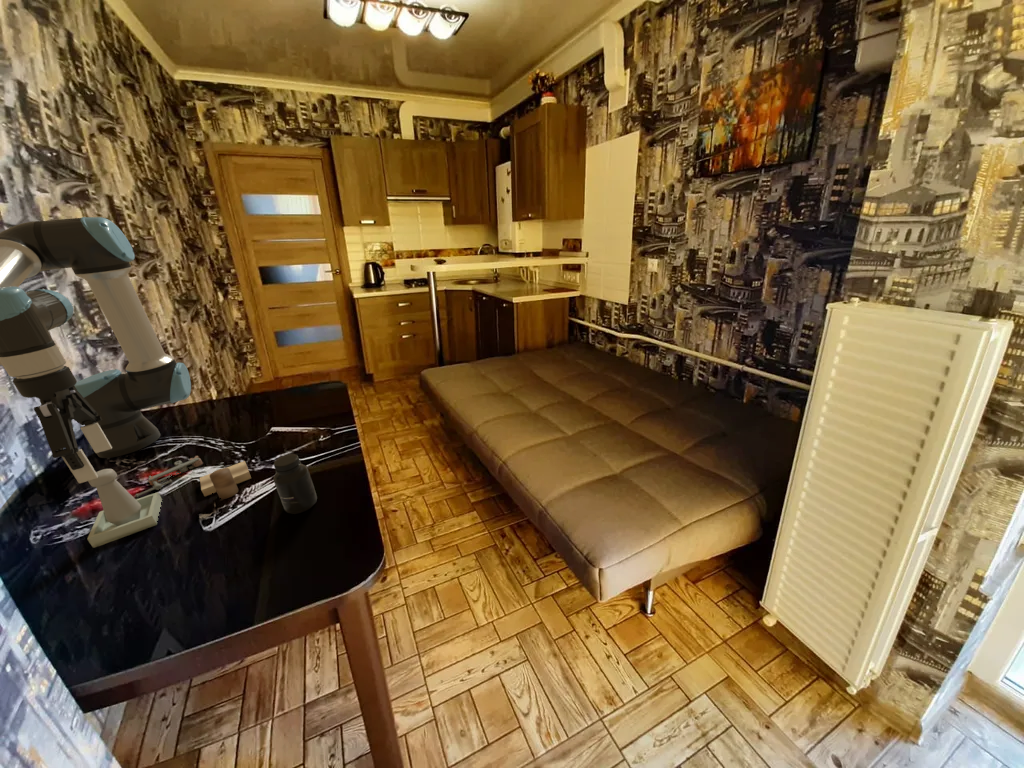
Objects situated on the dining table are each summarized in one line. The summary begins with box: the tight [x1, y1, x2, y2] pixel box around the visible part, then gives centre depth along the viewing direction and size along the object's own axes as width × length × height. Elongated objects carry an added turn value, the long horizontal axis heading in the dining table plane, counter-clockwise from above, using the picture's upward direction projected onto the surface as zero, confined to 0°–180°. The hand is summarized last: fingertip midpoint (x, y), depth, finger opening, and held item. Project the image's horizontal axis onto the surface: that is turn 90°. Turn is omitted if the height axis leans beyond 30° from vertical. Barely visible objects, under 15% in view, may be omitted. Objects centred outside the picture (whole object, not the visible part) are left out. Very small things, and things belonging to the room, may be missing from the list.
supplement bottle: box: [273, 453, 318, 515], centre depth 89 cm, size 7×7×12 cm
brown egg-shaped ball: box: [209, 467, 239, 500], centre depth 96 cm, size 4×4×6 cm
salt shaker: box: [87, 468, 141, 526], centre depth 88 cm, size 6×6×13 cm
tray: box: [87, 491, 163, 549], centre depth 90 cm, size 11×11×2 cm
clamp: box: [135, 455, 204, 498], centre depth 107 cm, size 15×2×10 cm
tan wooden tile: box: [199, 460, 252, 497], centre depth 102 cm, size 7×10×2 cm
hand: (97, 464), depth 85 cm, fingers open, 13 cm apart
